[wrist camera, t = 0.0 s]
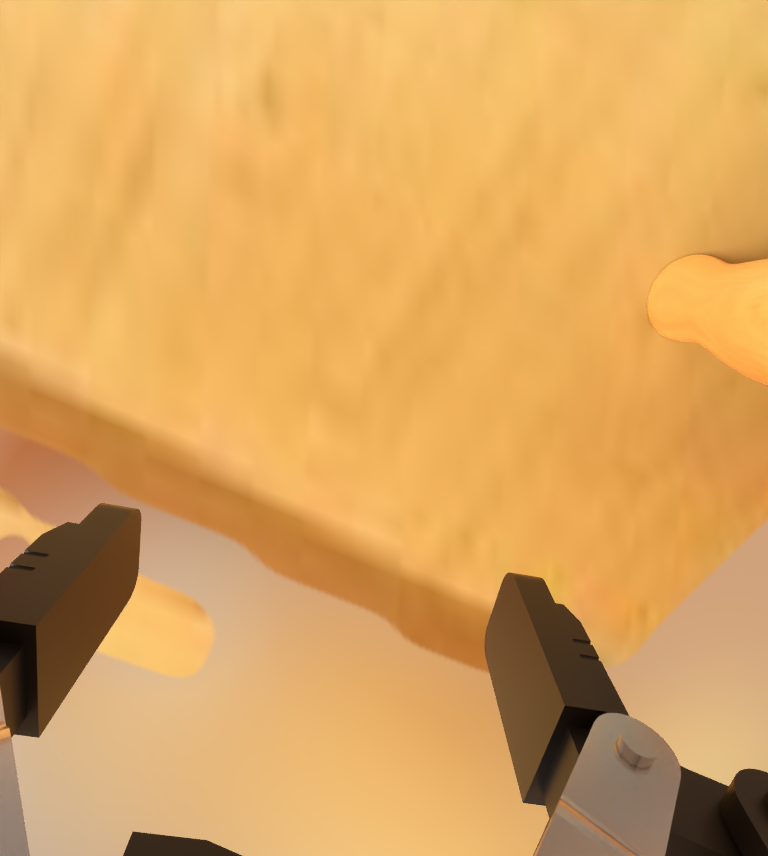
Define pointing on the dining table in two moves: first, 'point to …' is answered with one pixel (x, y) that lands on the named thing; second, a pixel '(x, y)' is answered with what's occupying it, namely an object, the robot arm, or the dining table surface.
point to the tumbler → (716, 309)
